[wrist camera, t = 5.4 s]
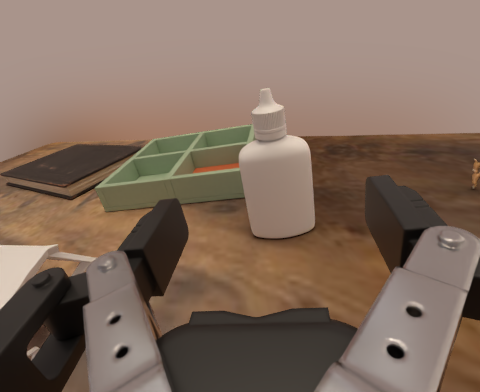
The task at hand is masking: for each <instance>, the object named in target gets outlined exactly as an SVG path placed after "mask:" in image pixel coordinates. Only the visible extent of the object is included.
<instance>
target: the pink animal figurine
mask: <svg viewBox="0 0 480 392" xmlns="http://www.w3.org/2000/svg"><path fill="white" fill-rule="evenodd" d="M474 161H475V163H474V164H473V169H472V170H473V171H474V174H473V175H472V182H473V184H474V186H471V187H473V188H475V187H476V186H477V185H476V184H477V180H478V178H479V177H480V173H479V174H478V169H479V167H480V162H479V163H478V162H477V160H476V159H474Z"/></svg>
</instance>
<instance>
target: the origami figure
mask: <svg viewBox="0 0 480 392" xmlns="http://www.w3.org/2000/svg"><path fill="white" fill-rule="evenodd" d="M46 259H52V260H64V261H76V262H80V263H79V265H78V266H77V268H76V270H75V271H74V273H73V274H72V276H74V275H78V274H81V273H84V272H86V270H87V268H88V266H89V265H90V264H91V263H92V262H93V261H94V260H95V259H97V258H94V257H88V256H82V255H76V254H70V253H64V252H59V250H58V244H57V245H49V246H16V245H0V309H1V308H2V307H3V306H4V305H5V304H6V303H7V302H8V301H9V300H10V299H11V298H12V297H13V296H14V294H15V293H16V292H17V291H18V290H19V289H20V288H21V287H22V286H23V285H24V284H25V283H26V282H27V281H28V280H29V279H31V278H32V277H34V276H35V274H36V273H37V272H38V270H39V269H40V267H41V266H42V264H43V263H44V262H45V260H46ZM38 351H39V347H36V346H35V347H33V348H32V349H30V350H29V351H28V352H27V356H28V357H29V356H31V355H32V359H33V358H34V357H35V355H36V354H37V352H38Z"/></svg>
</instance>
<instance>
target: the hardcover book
mask: <svg viewBox="0 0 480 392" xmlns="http://www.w3.org/2000/svg"><path fill="white" fill-rule="evenodd" d="M143 147H144V146H123V145H90V144H76V145H74V146H71V147H69V148H66V149H63V150H61V151H58V152H56V153H53V154H51V155H48V156H45V157H43V158H40V159H38V160H35V161H32V162H30V163H27V164H25V165H22V166H19V167H17V168H14V169H12V170H9V171H6V172H4V173H1V174H0V175H1V176H5V177H6V179H7V180H8V182H9V183H6V184H7V185H10V186H15V187H19V188H23V189H27V190H32V191H36V192H40V193H45V194H49V195H53V196H58V197H62V198H66V199H70V200H72V199H74V198H75V197H77V196H79V195H81V194H83V193H85V192H87V191H89V190H91V189H92V188H94V187H96V186H98V185H99V184H100V183H101V182H103V181H104V180H105V179H106V178H107V177H109V176H110V175H111V174H112V173H113V172H114V171H116V170H117V169H118V168H119V167H120V166H122V165H123V164H124V163H125V162H126V161H128V160H129V159H130V158H131V157H132V156H134V155H135V154H136V153H137V152H138V151H140V150H141V149H142V148H143Z"/></svg>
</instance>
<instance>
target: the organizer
mask: <svg viewBox="0 0 480 392" xmlns="http://www.w3.org/2000/svg"><path fill="white" fill-rule="evenodd" d="M254 140H256V138H255V134H254V128H253V124H250V125H244V126H237V127H231V128H224V129H217V130H211V131H205V132H198V133H191V134H184V135H178V136H172V137H165V138H158V139H153V140H151V141H150V142H149V143H148V144H147V145H146V146H144V147H143V148H142V149H141V150H140V151H138V152H137V153H136V154H135V155H134V156H132V157H131V158H130V159H129V160H128V161H126V162H125V163H124V164H123V165H122V166H120V167H119V168H118V169H117V170H116V171H114V172H113V173H112V174H111V175H110V176H109V177H107V178H106V179H105V180H104V181H103V182H101V183H100V184H99V185H98V186H97V187H95V190H96V192H97V194H98V196H99V198H100V200H101V203H102V205H103V207H104V209H105V211H106V212H109V211H119V210H129V209H138V208H148V207H155V205H156V204H157V203H158V201H159V200H162V199H171V198H177V199H178V200H179V202H180V204H186V203H196V202H206V201H215V200H225V199H234V198H244V197H245V195H244V190H243V184H242V179H241V174H240V168H239V153H240V151H241V149H242V148H243V147H244V146H246V145H247V144H249V143H250V142H252V141H254Z"/></svg>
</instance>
